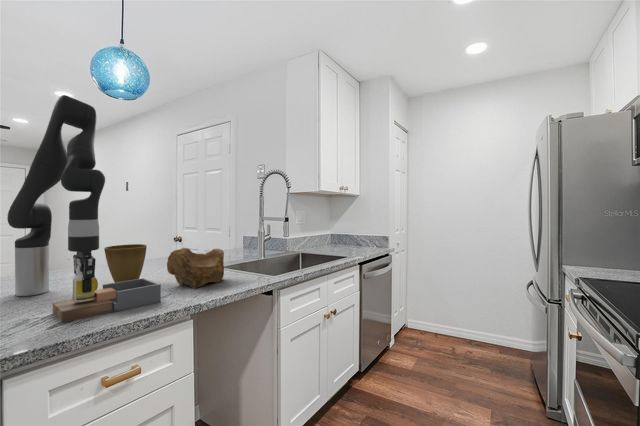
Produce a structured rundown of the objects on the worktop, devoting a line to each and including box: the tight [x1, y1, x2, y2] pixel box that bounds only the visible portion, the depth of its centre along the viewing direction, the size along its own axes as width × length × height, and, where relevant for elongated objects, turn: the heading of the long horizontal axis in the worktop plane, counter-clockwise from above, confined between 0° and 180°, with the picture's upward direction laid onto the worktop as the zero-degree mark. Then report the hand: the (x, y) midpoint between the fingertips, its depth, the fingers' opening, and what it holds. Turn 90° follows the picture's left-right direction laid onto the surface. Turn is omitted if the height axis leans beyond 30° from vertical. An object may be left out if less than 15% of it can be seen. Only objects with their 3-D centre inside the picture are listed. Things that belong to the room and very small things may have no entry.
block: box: [94, 288, 116, 302], centre depth 98 cm, size 5×5×2 cm
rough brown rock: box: [166, 247, 225, 289], centre depth 129 cm, size 23×17×15 cm
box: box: [102, 278, 162, 313], centre depth 104 cm, size 14×14×6 cm
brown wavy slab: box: [52, 299, 113, 323], centre depth 94 cm, size 12×12×3 cm
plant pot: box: [103, 243, 148, 283], centre depth 128 cm, size 15×15×16 cm
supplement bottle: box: [72, 268, 96, 302], centre depth 94 cm, size 5×5×10 cm
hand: (84, 290), depth 94 cm, fingers closed on supplement bottle, 5 cm apart
